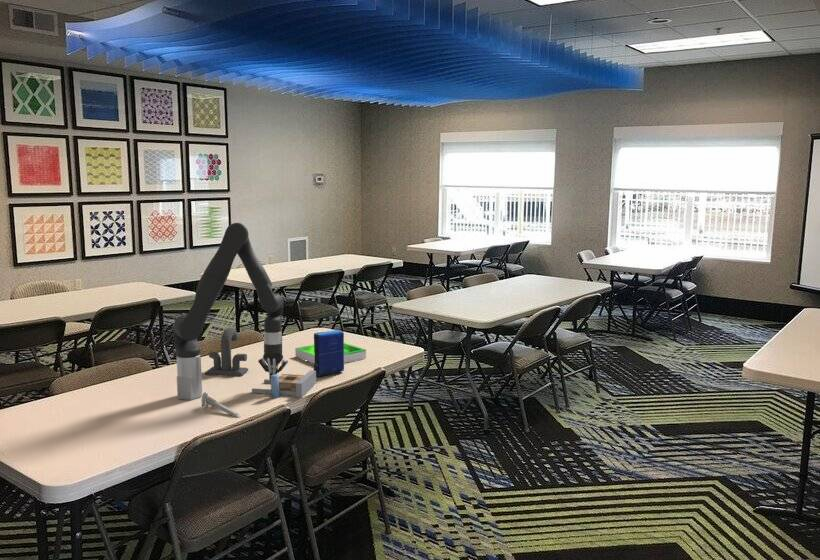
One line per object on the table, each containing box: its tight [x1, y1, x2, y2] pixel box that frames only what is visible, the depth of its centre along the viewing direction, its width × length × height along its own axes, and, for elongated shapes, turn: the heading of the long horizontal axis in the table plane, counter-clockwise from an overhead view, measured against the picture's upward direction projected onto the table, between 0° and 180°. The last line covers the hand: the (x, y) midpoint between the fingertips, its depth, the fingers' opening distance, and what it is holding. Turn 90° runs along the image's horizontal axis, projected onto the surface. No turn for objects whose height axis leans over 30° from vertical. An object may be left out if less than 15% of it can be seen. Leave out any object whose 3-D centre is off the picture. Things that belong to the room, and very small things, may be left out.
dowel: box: [270, 373, 280, 399], centre depth 261 cm, size 3×3×9 cm
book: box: [313, 329, 345, 377], centre depth 291 cm, size 14×5×20 cm, turn 126°
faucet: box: [204, 327, 249, 377], centre depth 296 cm, size 18×16×20 cm
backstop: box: [251, 369, 317, 399], centre depth 271 cm, size 18×22×6 cm
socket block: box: [279, 373, 305, 391], centre depth 271 cm, size 11×11×4 cm
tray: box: [294, 342, 367, 364], centre depth 319 cm, size 25×25×5 cm
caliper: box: [200, 391, 241, 418], centre depth 244 cm, size 20×1×6 cm, turn 57°
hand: (273, 381), depth 272 cm, fingers closed
